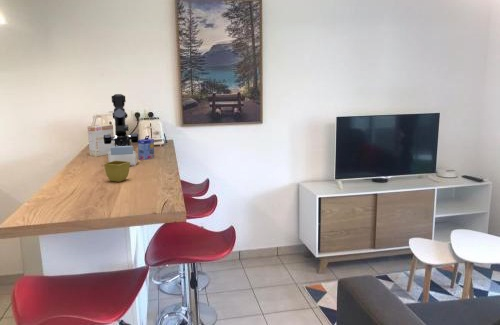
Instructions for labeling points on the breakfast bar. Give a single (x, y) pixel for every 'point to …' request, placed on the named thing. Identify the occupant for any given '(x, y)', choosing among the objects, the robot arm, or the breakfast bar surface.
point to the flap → (121, 150)
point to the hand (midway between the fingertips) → (122, 150)
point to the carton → (123, 158)
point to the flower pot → (117, 170)
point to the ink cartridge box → (146, 148)
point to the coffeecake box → (99, 139)
